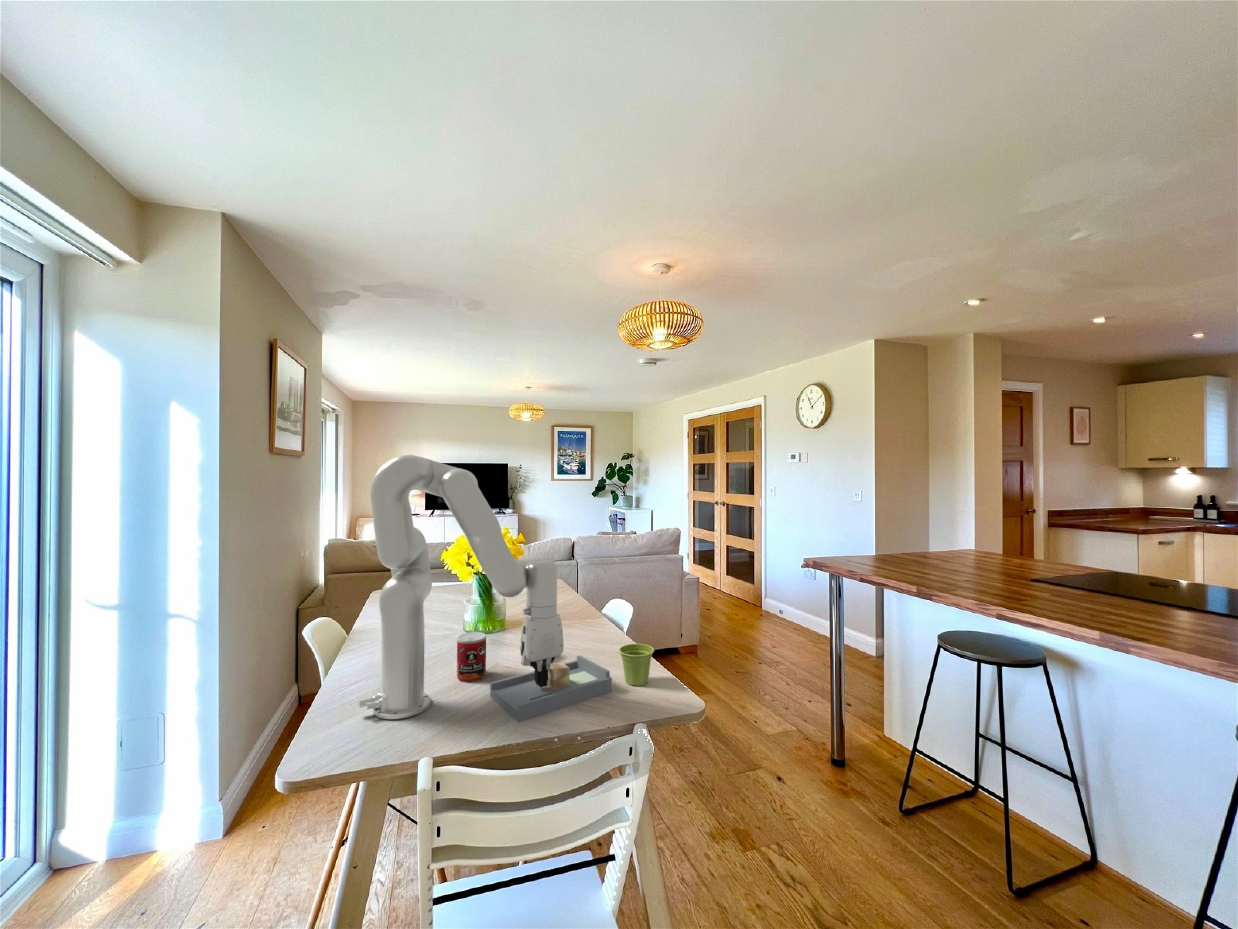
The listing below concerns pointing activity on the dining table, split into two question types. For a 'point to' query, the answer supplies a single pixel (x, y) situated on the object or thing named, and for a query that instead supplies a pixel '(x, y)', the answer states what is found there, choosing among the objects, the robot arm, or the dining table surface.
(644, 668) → the plant pot
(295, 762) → the dining table surface
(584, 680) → the box
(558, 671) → the block
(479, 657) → the canned food
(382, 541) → the robot arm
